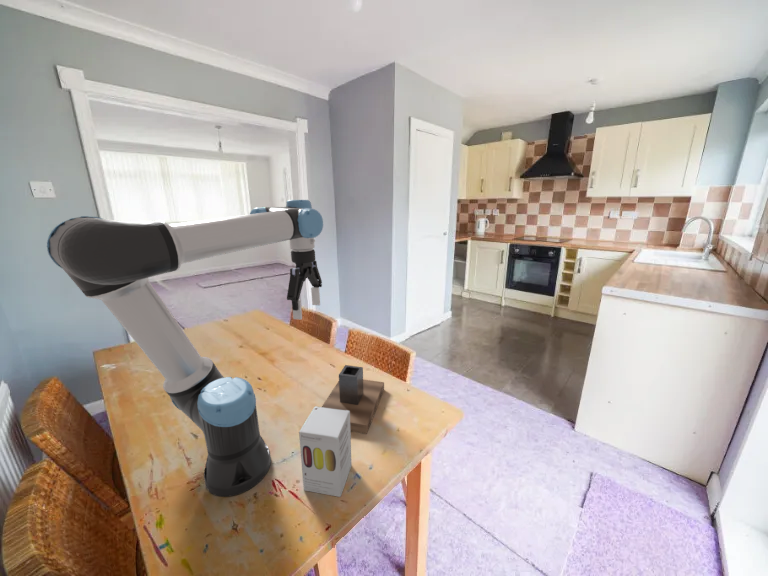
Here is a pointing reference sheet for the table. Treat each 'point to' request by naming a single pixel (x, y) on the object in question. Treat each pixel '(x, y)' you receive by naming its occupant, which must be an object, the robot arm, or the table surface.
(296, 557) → the table surface
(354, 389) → the hollow square tube
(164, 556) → the table surface
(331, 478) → the supplement box
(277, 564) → the table surface
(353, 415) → the tang block
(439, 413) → the table surface
